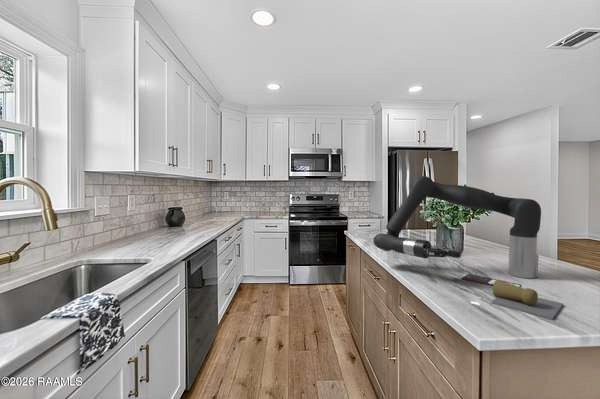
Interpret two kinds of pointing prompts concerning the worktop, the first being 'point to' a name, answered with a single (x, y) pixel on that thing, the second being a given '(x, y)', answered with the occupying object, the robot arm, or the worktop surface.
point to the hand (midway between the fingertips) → (460, 255)
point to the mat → (532, 307)
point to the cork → (514, 292)
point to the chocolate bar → (484, 280)
